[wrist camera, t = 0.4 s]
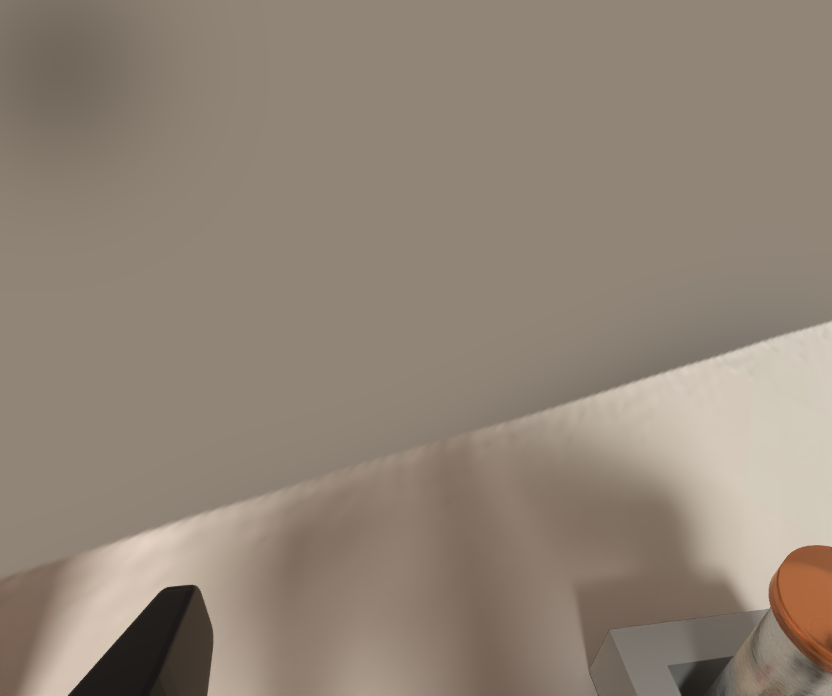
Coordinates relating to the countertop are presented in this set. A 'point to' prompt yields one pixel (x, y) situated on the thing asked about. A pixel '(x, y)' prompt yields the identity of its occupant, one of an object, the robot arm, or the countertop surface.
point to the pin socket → (670, 655)
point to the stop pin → (788, 634)
